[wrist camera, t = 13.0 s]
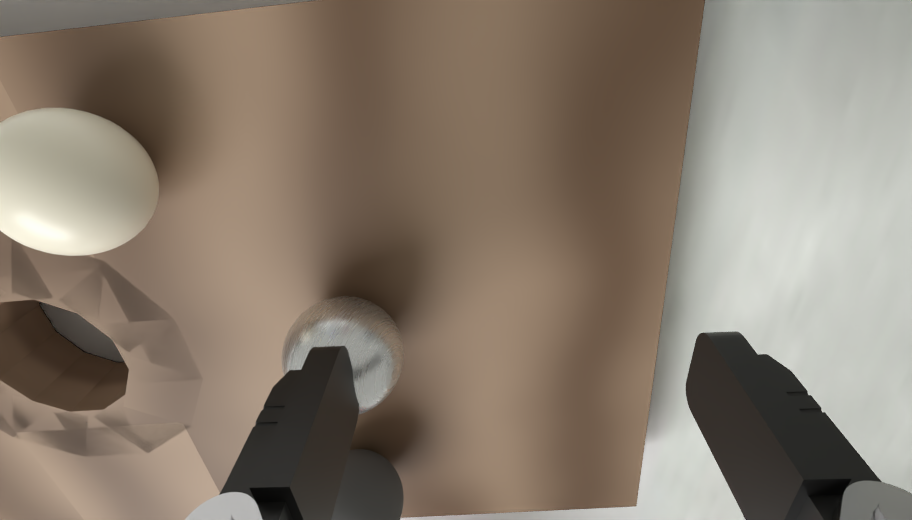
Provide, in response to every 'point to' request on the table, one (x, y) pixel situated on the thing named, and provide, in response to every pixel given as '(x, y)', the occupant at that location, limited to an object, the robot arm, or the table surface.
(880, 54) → the table surface
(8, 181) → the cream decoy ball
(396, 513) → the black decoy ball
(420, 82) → the deck
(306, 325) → the steel ball
